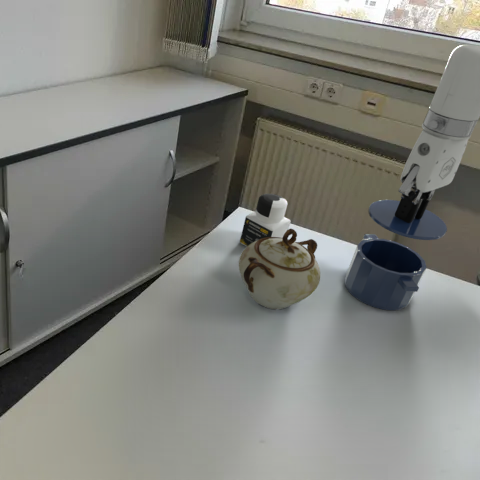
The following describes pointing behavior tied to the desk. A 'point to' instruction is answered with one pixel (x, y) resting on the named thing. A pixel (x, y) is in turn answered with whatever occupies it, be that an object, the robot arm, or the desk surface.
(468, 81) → the robot arm
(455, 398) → the desk surface
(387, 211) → the lid
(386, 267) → the pot
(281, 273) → the sugar bowl
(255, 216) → the medicine bottle
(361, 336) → the desk surface
